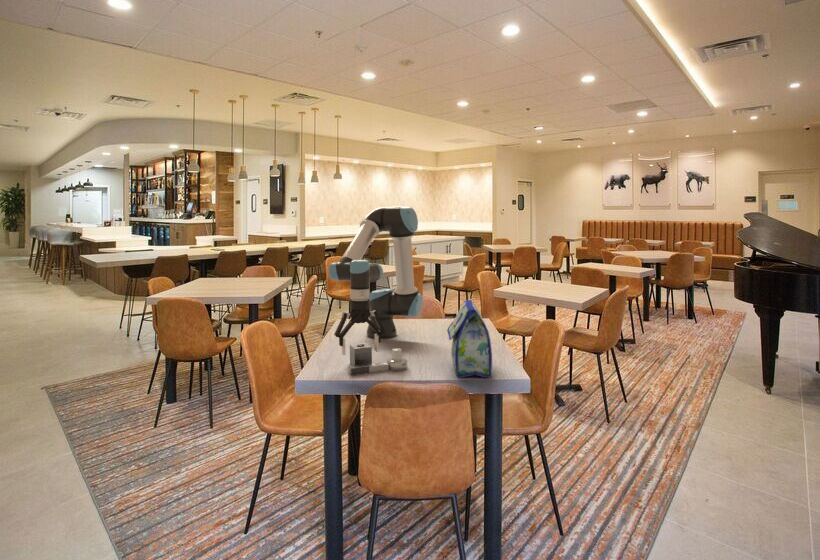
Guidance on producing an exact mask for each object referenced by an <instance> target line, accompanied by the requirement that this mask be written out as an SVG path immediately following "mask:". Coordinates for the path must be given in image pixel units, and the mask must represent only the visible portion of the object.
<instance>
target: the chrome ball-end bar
mask: <svg viewBox="0 0 820 560" xmlns="http://www.w3.org/2000/svg"><path fill="white" fill-rule="evenodd" d="M388 370H389V371H391V372H403V370H404V371H406V370H408V360H407V359H406V358H404V357H403V349H402V348H400V347H397V348H391V358H388V359H386V361H385V362H377V363H372V364H358V365H348V374H349V375H350V376H357V374H359V375H366V374H365V373H367V374H371V373H370V372H373V373H379V371H381V372H388Z"/></svg>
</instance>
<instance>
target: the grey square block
mask: <svg viewBox="0 0 820 560" xmlns="http://www.w3.org/2000/svg"><path fill="white" fill-rule="evenodd" d="M372 350H373V347H372V346H371V345H370V344H369V343H367V342H363V343H361V342H360V343H353V344H349V364H350V365H358V364H373V351H372ZM350 365H349V366H350Z"/></svg>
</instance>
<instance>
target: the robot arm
mask: <svg viewBox="0 0 820 560" xmlns="http://www.w3.org/2000/svg"><path fill="white" fill-rule="evenodd" d="M418 225H419V220H418V215H417V212H416V211H415V209H414V208H413V207H411V206H403V205H402V206H381V207H378V208H375V209H373V210H371V211H370V212H369V213H367V215H366V216H364V218H363V219H362V220H361V222H360V223H359V229H358V231H357V233H356V234H355V236H354V237H353V238H352V241H351V242H350V243H349V245H348V246H347V249H346V250H345V251H344V253H343V254H342V256H341V258H340V260H339V261H335V262H331V263H330V264H329V267H328V268H327V269H328V270H327V271H328V273H327V274H328V276H329V278H330V279H331V280H333V281H339V282H343V281H344V282H350V286H349V287H350V291H349V293H350V296H349V297H350V304H349V305H350V306H349V307H350V308H349V309H350V311H349V312H345V311H342V314H341V319H340V321H339V323H338V325H337V327H336V329H335V331H334V336H335V337H336V338H338V339H339V340H338V341H339V342H338V345H339V346H340V347H341V355H343V356H345V355H346V338H345V337H346V334H347V333H348V332H349V331H350V329H351V328H352V327H353V326H354V325H355V324H365V323H367V324H368V326H367V329H366V336H367V337H368V338H372V339H374V351H375V352H379V350H380V348H379V346H380V345H379V344H381V343H382V341H381V340H382V339H388V338H394V337H396V336H397V333H398V332H397V328H396V324H395V321H394V316H396V317H405V318H406V317H408V318H411V317H413V318H416V317H417V316H419V315H420V313H421V310H422V307H423V301H424V298H423V297H424V296H423V295H422V293H420V292H418V291H419V289H418V287H417V286H415V275H414V274H415V273H414V260H413V258H414V257H413V246H412V242H413V241H412V238H413V237H414V236H415V232H417V230H418V228H419V226H418ZM383 232H385V233H388V232H389V237H390V239H392V243H393V253H394V265H395V266H394V268H395V277H396V278H395V279H396V288H395V289H394V290H393V288H383V289H377V290H372V291H370V283H375V282H377V281H379V280H381V278H382V277H383V275H384V269H383V267H382V265H380V264H379V263H376V262H369V260H368V259H367V260H366V259H363V257H364V254H365V253H366V252H367V250H368V248H369V246H370V245H371V242H372V241H373V239H374V238H376V237H377V236H378V235H379V233H383ZM349 317H350V320H349V321H348V323H347V324H346V321H347V319H349ZM345 324H346V325H345Z"/></svg>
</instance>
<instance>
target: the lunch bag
mask: <svg viewBox="0 0 820 560" xmlns="http://www.w3.org/2000/svg"><path fill="white" fill-rule="evenodd" d="M447 335H448V340H449V341H450V340H451V341H452V342H451V348H450V349H451V353H450V354H451V358H452V359H451V360H452V364H453V368H454V369H453V370H454V372H455V376H456V377H457V378H461V377H462V378H466V377H470V376H474V375H475V376H478V377H481V378H482V377H483V378H487V377H488V378H490V377H492V373H493V351H492V350H493V348H492V341H491V336H490V335H491V334H490V333H489V329H488V327H487V325H486V323H485V320H484V318H483V316H482V314H481V313H480V311H479V309H478V307H477V305H476V304H475V303H474V302H473V301H472V300H470V299H466V300H464V301H463V303H462V305H461V307H459V310H458V312H457V314H456V316H455V317H454V319H453V320H452V322H451V323H450V325H449V326H448V328H447Z"/></svg>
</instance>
